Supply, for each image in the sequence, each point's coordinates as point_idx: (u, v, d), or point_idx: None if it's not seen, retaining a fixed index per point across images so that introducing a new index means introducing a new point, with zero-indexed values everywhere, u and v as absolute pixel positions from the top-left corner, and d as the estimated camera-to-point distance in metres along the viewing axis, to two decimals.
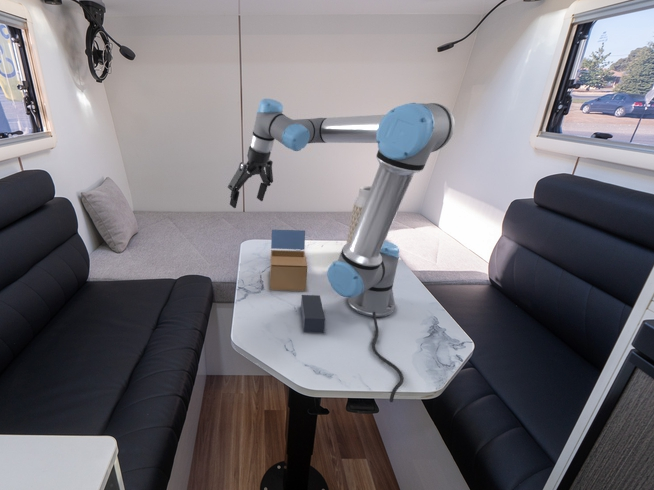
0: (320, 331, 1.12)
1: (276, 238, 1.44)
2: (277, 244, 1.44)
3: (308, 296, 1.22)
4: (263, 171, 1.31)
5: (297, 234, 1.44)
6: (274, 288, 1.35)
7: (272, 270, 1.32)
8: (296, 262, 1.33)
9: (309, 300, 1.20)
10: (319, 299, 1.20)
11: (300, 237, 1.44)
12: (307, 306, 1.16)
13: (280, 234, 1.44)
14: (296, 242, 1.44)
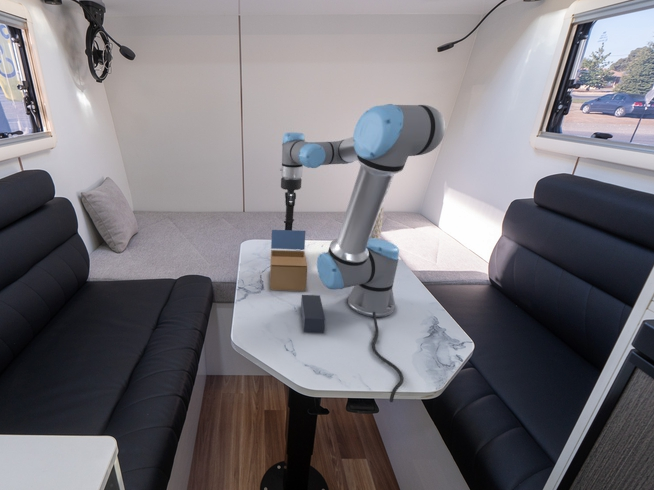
0: (320, 331, 1.12)
1: (276, 238, 1.44)
2: (277, 244, 1.44)
3: (308, 296, 1.22)
4: None
5: (297, 234, 1.43)
6: (274, 288, 1.35)
7: (272, 270, 1.32)
8: (296, 262, 1.33)
9: (309, 300, 1.20)
10: (319, 299, 1.20)
11: (300, 237, 1.43)
12: (307, 306, 1.16)
13: (280, 234, 1.43)
14: (296, 242, 1.44)
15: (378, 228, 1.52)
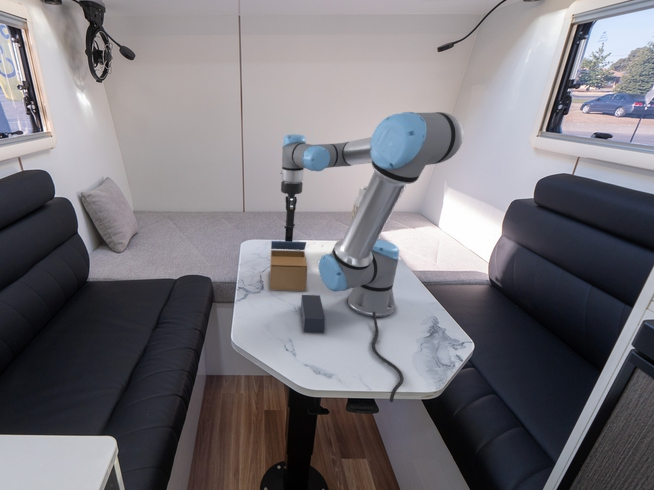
0: (320, 331, 1.12)
1: (276, 245, 1.41)
2: (277, 247, 1.43)
3: (308, 296, 1.22)
4: None
5: (298, 244, 1.39)
6: (274, 288, 1.35)
7: (272, 270, 1.32)
8: (296, 262, 1.33)
9: (309, 300, 1.20)
10: (319, 299, 1.20)
11: (301, 245, 1.40)
12: (307, 306, 1.16)
13: (280, 243, 1.39)
14: (296, 247, 1.42)
15: None
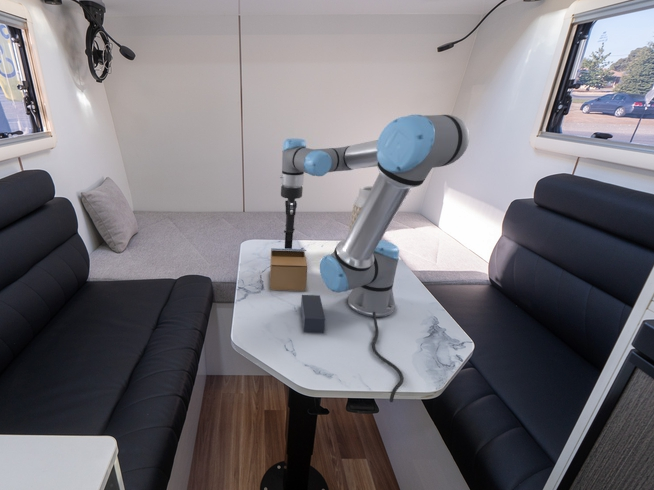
0: (320, 331, 1.12)
1: None
2: (277, 249, 1.43)
3: (308, 296, 1.22)
4: None
5: None
6: (274, 288, 1.35)
7: (272, 270, 1.32)
8: (296, 262, 1.33)
9: (309, 300, 1.20)
10: (319, 299, 1.20)
11: (300, 250, 1.40)
12: (307, 306, 1.16)
13: None
14: (296, 250, 1.42)
15: None
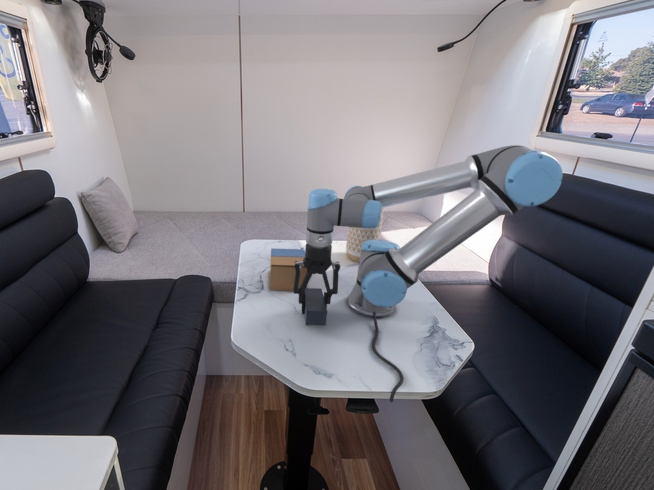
0: (322, 324, 1.11)
1: None
2: None
3: (310, 289, 1.21)
4: None
5: None
6: (274, 288, 1.35)
7: (272, 270, 1.32)
8: None
9: (311, 293, 1.18)
10: (321, 292, 1.19)
11: None
12: (309, 299, 1.15)
13: None
14: None
15: (378, 228, 1.52)
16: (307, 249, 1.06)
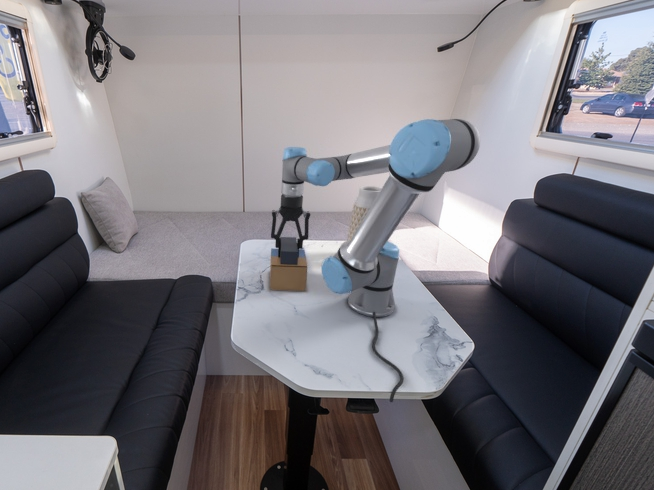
0: (294, 263, 1.31)
1: None
2: None
3: (286, 238, 1.41)
4: None
5: None
6: (274, 288, 1.35)
7: (272, 270, 1.32)
8: None
9: (286, 240, 1.39)
10: (295, 239, 1.40)
11: None
12: (284, 244, 1.35)
13: None
14: None
15: None
16: (282, 198, 1.27)
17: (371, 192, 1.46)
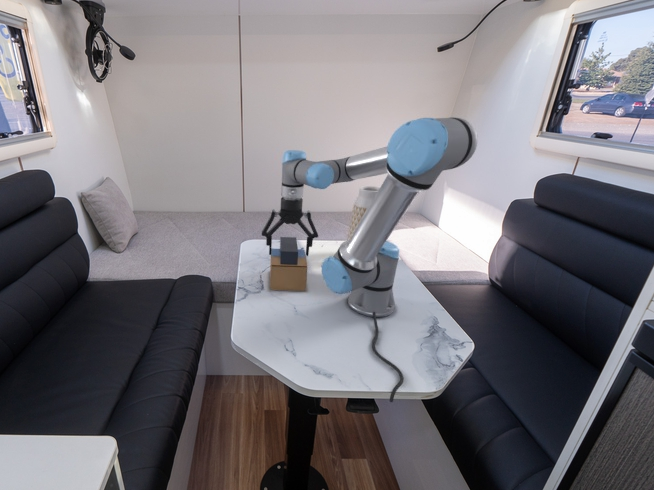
0: (294, 263, 1.31)
1: None
2: None
3: (286, 238, 1.41)
4: None
5: None
6: (274, 288, 1.35)
7: (272, 270, 1.32)
8: None
9: (286, 240, 1.39)
10: (295, 239, 1.40)
11: None
12: (284, 244, 1.35)
13: None
14: None
15: None
16: (282, 201, 1.27)
17: (371, 192, 1.46)
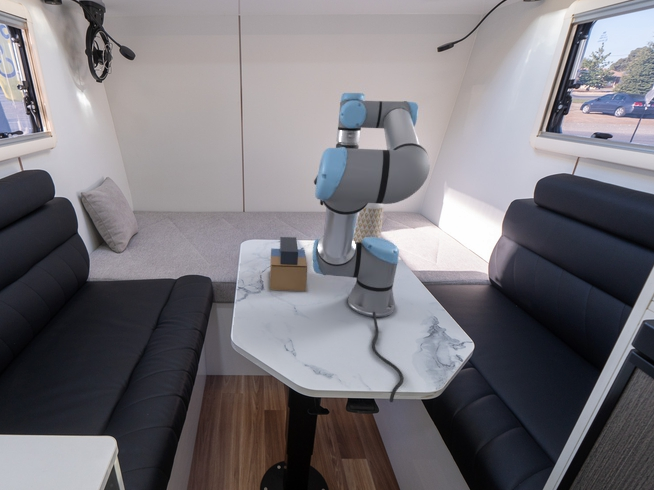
0: (294, 263, 1.31)
1: None
2: None
3: (286, 238, 1.41)
4: None
5: None
6: (274, 288, 1.35)
7: (272, 270, 1.32)
8: None
9: (286, 240, 1.39)
10: (295, 239, 1.40)
11: None
12: (284, 244, 1.35)
13: None
14: None
15: (378, 228, 1.52)
16: (338, 147, 1.25)
17: None
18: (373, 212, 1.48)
